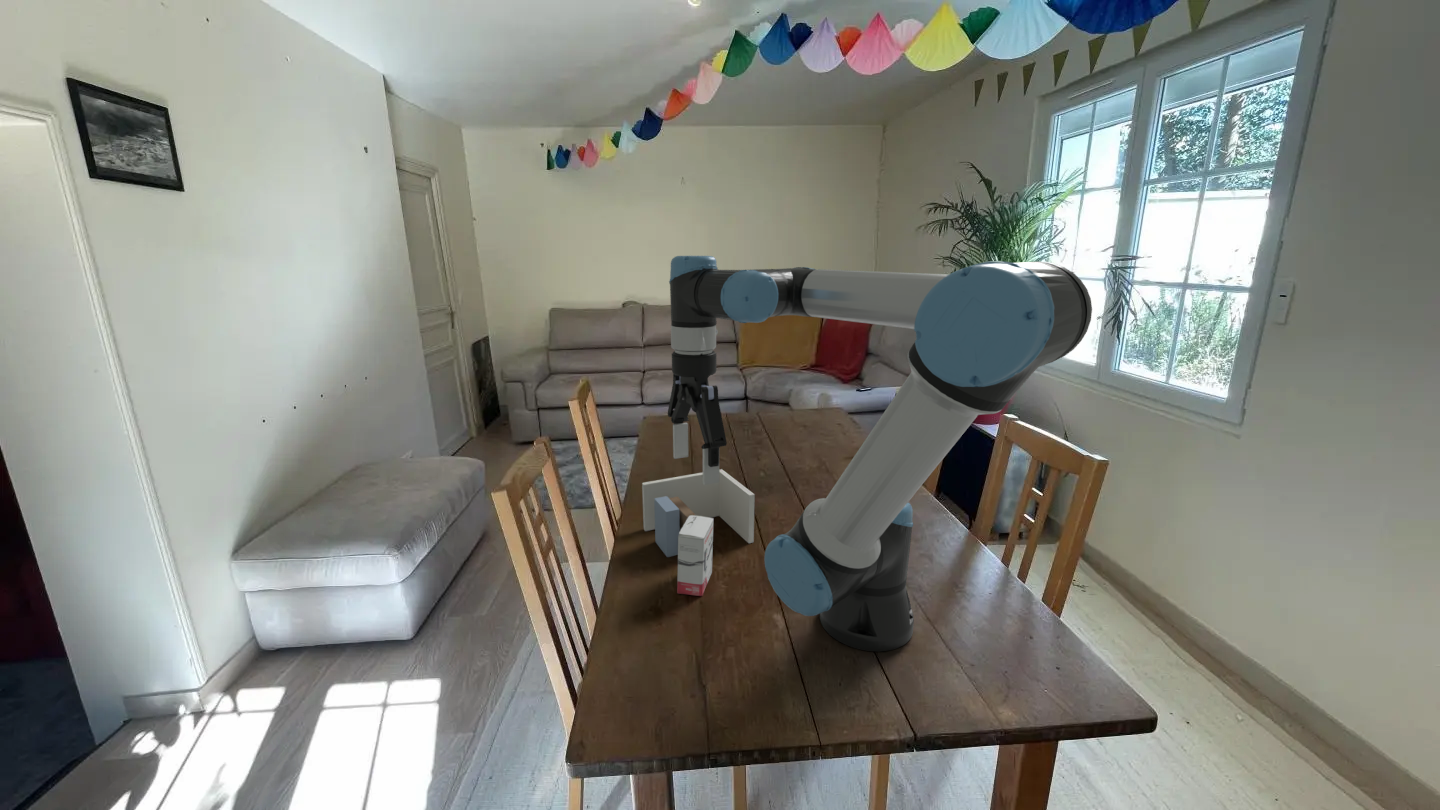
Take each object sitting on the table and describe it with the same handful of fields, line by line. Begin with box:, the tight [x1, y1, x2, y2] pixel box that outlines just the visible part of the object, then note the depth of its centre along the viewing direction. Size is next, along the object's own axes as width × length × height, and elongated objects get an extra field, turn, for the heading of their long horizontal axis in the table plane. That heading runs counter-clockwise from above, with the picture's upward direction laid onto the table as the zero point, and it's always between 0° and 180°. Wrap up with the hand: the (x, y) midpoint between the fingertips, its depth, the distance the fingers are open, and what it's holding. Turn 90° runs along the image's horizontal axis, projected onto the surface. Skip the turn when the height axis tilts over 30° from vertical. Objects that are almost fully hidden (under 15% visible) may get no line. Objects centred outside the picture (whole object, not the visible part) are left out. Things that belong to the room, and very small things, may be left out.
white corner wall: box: [641, 468, 756, 558], centre depth 125 cm, size 16×19×11 cm
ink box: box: [676, 515, 715, 597], centre depth 108 cm, size 9×5×12 cm, turn 168°
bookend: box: [669, 496, 695, 530], centre depth 121 cm, size 10×2×9 cm, turn 26°
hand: (695, 469), depth 103 cm, fingers open, 13 cm apart
